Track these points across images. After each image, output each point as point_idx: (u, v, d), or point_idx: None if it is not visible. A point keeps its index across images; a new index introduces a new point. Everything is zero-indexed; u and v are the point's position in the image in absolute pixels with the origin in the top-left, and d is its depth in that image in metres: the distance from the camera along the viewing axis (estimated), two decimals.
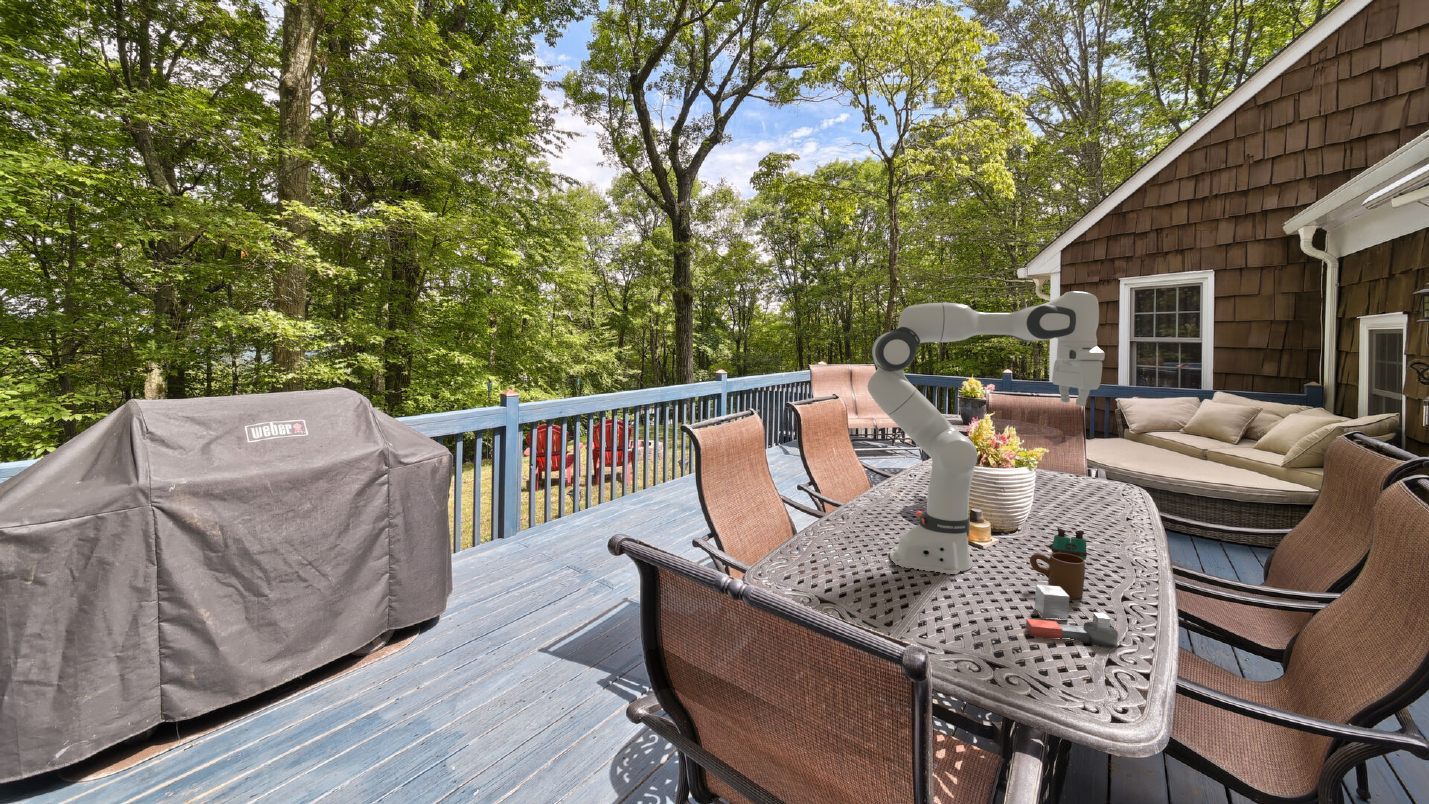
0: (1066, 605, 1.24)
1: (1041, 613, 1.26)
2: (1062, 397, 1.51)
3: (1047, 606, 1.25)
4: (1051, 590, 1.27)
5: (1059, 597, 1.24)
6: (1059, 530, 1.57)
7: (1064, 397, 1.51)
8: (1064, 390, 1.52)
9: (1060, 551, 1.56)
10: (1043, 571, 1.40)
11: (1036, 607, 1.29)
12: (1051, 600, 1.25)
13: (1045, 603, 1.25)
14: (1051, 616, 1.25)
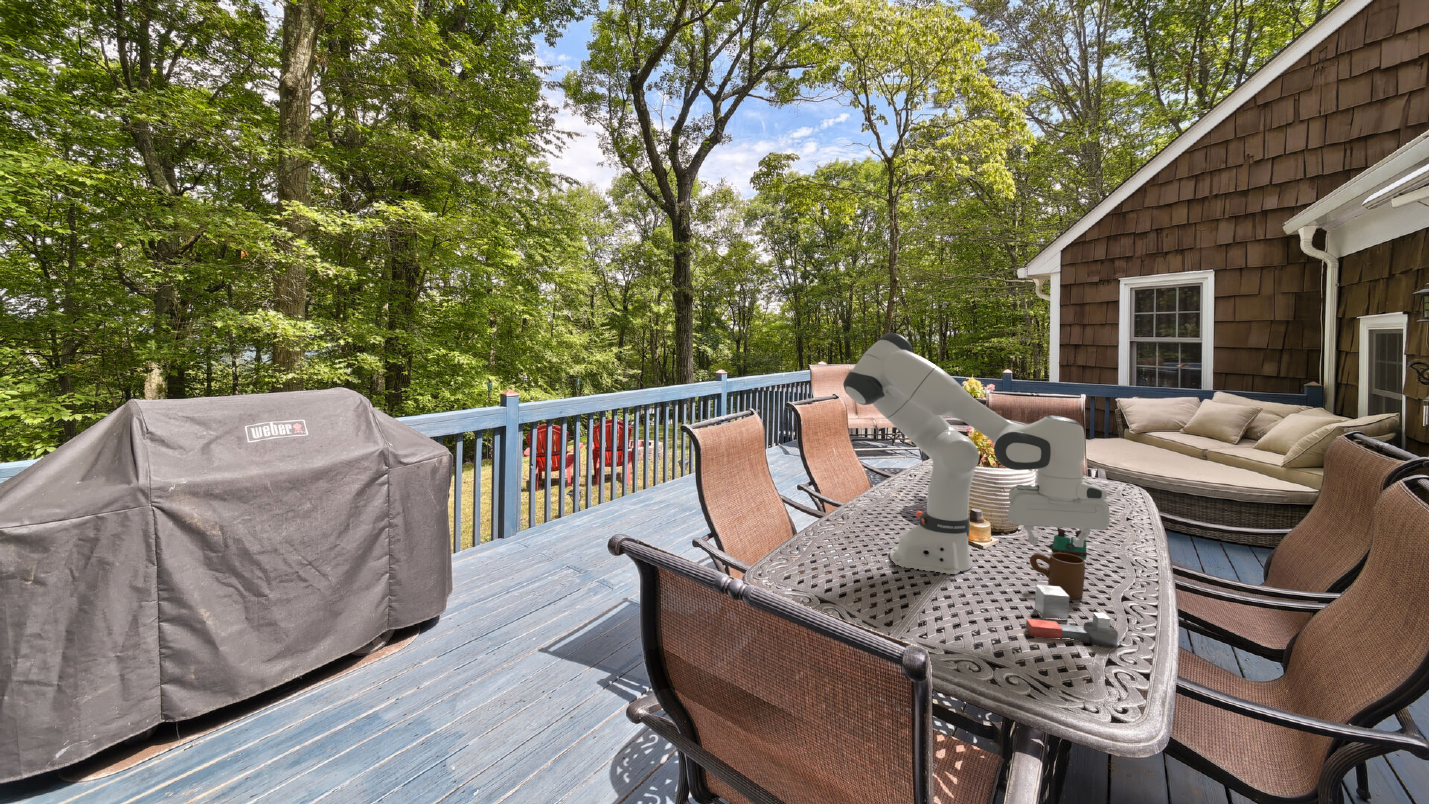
0: (1066, 605, 1.24)
1: (1041, 613, 1.26)
2: (1036, 539, 1.26)
3: (1047, 606, 1.25)
4: (1051, 590, 1.27)
5: (1059, 597, 1.24)
6: (1059, 530, 1.57)
7: None
8: None
9: (1060, 551, 1.56)
10: (1043, 571, 1.40)
11: (1036, 607, 1.29)
12: (1051, 600, 1.25)
13: (1045, 603, 1.25)
14: (1051, 616, 1.25)
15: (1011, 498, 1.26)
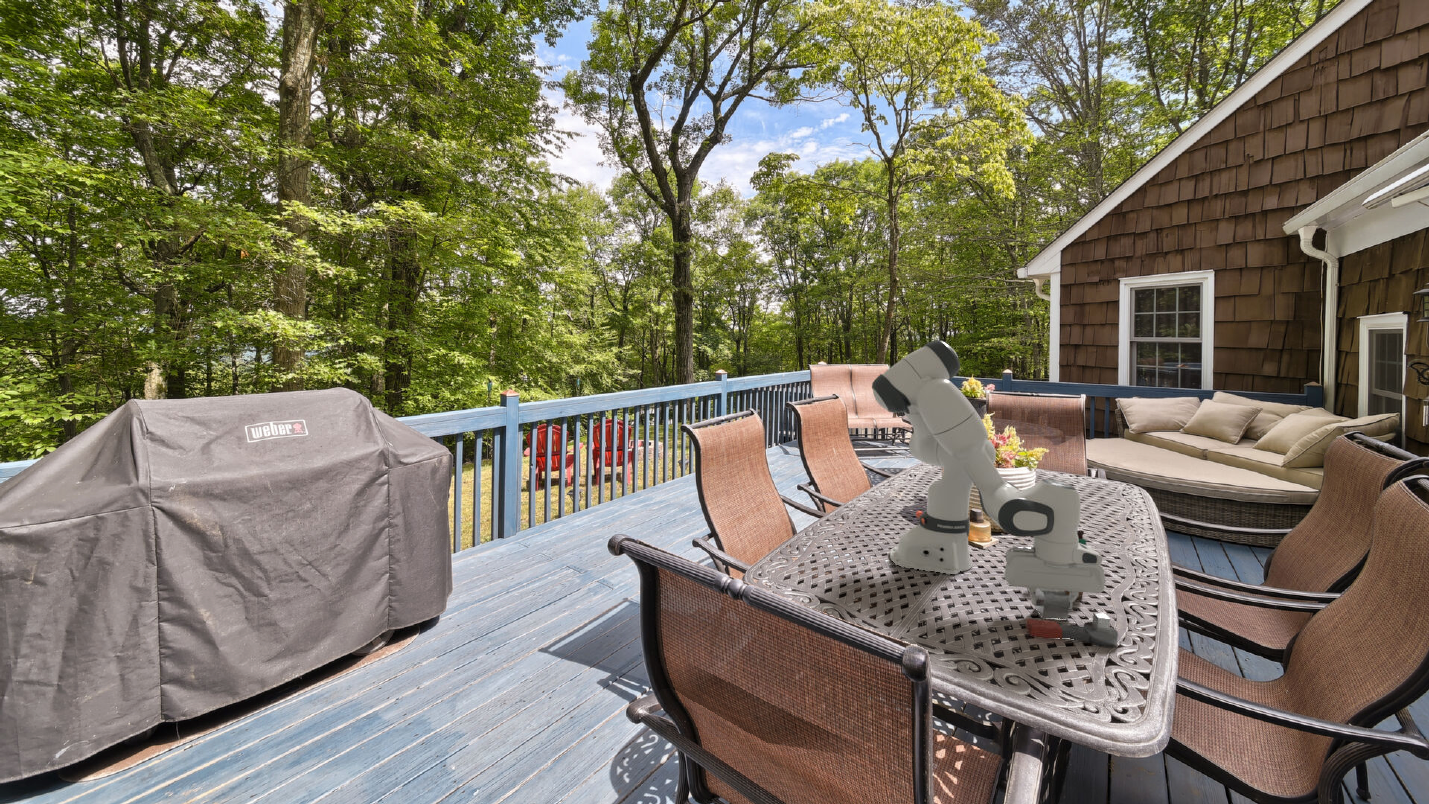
0: (1066, 605, 1.24)
1: (1041, 613, 1.26)
2: (1038, 601, 1.27)
3: (1047, 606, 1.25)
4: (1051, 590, 1.27)
5: (1059, 597, 1.24)
6: None
7: None
8: None
9: None
10: None
11: (1036, 607, 1.29)
12: (1051, 600, 1.25)
13: (1045, 603, 1.25)
14: (1051, 616, 1.25)
15: (1008, 560, 1.28)
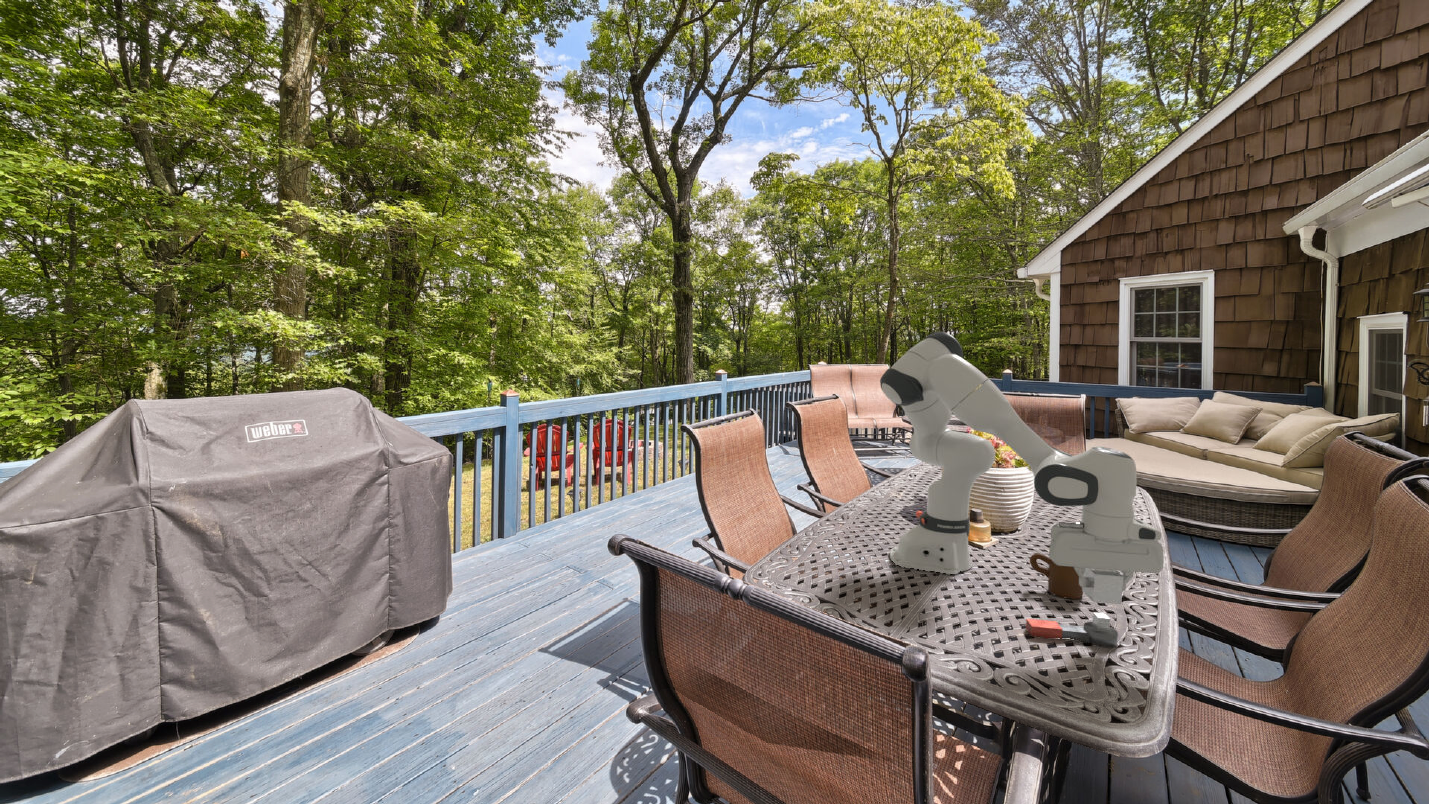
0: (1120, 586, 1.12)
1: (1091, 595, 1.14)
2: (1087, 582, 1.15)
3: (1098, 587, 1.13)
4: (1102, 570, 1.15)
5: (1112, 577, 1.12)
6: None
7: None
8: None
9: None
10: (1043, 571, 1.40)
11: (1084, 589, 1.17)
12: (1102, 581, 1.13)
13: (1096, 584, 1.13)
14: (1102, 599, 1.13)
15: (1053, 536, 1.16)
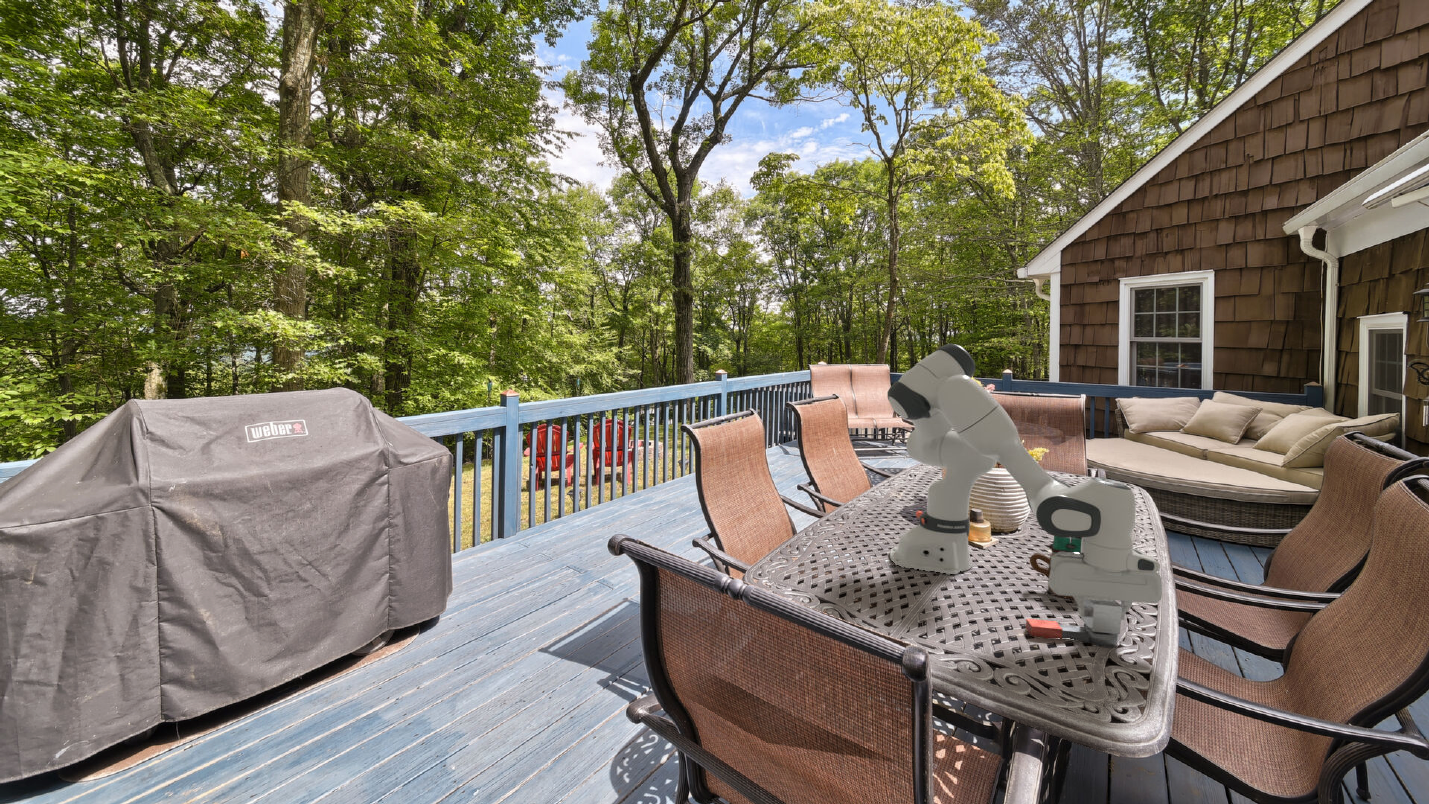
0: (1118, 616, 1.13)
1: (1090, 625, 1.15)
2: (1087, 611, 1.16)
3: (1097, 617, 1.14)
4: (1101, 600, 1.16)
5: (1111, 607, 1.13)
6: None
7: None
8: None
9: (1060, 551, 1.56)
10: (1043, 571, 1.40)
11: (1083, 618, 1.18)
12: (1102, 611, 1.13)
13: (1095, 614, 1.14)
14: (1101, 628, 1.14)
15: (1053, 566, 1.17)
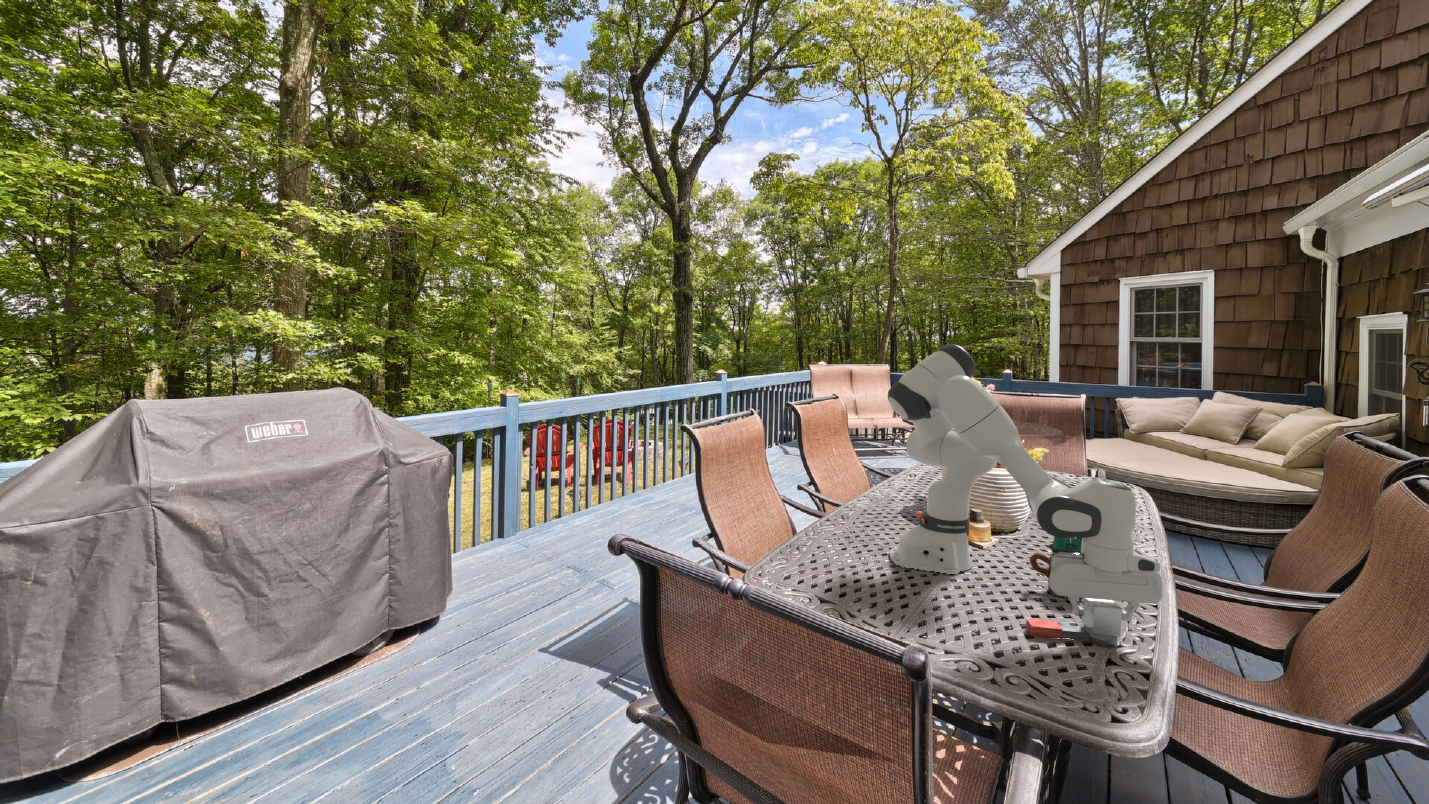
0: (1119, 619, 1.13)
1: (1090, 627, 1.15)
2: (1081, 611, 1.16)
3: (1097, 620, 1.14)
4: (1101, 602, 1.16)
5: (1111, 610, 1.13)
6: None
7: None
8: None
9: (1060, 551, 1.56)
10: (1043, 571, 1.40)
11: (1083, 620, 1.18)
12: (1102, 613, 1.14)
13: (1095, 616, 1.14)
14: (1102, 631, 1.14)
15: (1053, 566, 1.17)
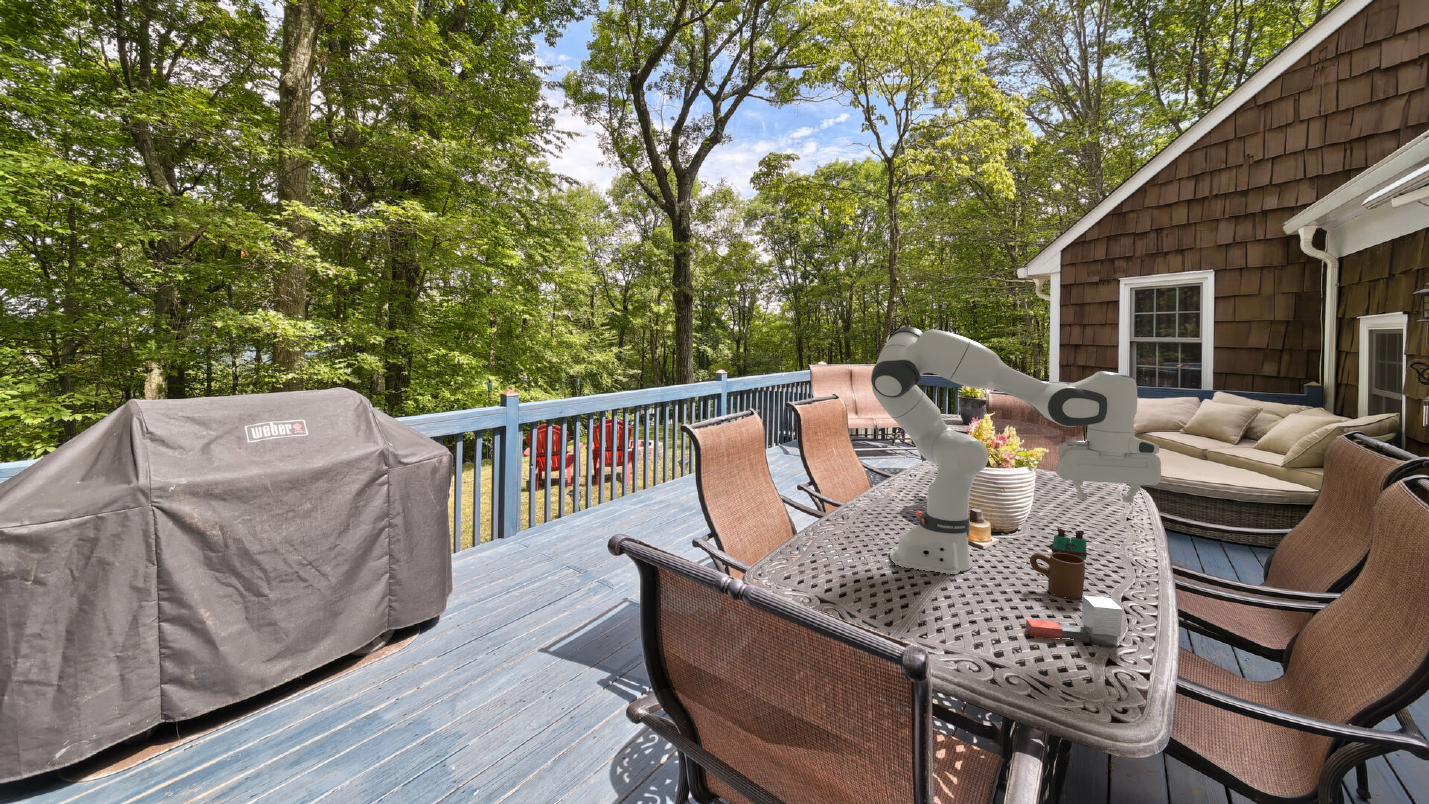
0: (1119, 619, 1.13)
1: (1090, 627, 1.15)
2: (1085, 494, 1.26)
3: (1097, 620, 1.14)
4: (1101, 602, 1.16)
5: (1111, 610, 1.13)
6: (1059, 530, 1.57)
7: None
8: None
9: (1060, 551, 1.56)
10: (1043, 571, 1.40)
11: (1083, 620, 1.18)
12: (1102, 613, 1.14)
13: (1095, 616, 1.14)
14: (1102, 631, 1.14)
15: (1061, 454, 1.27)
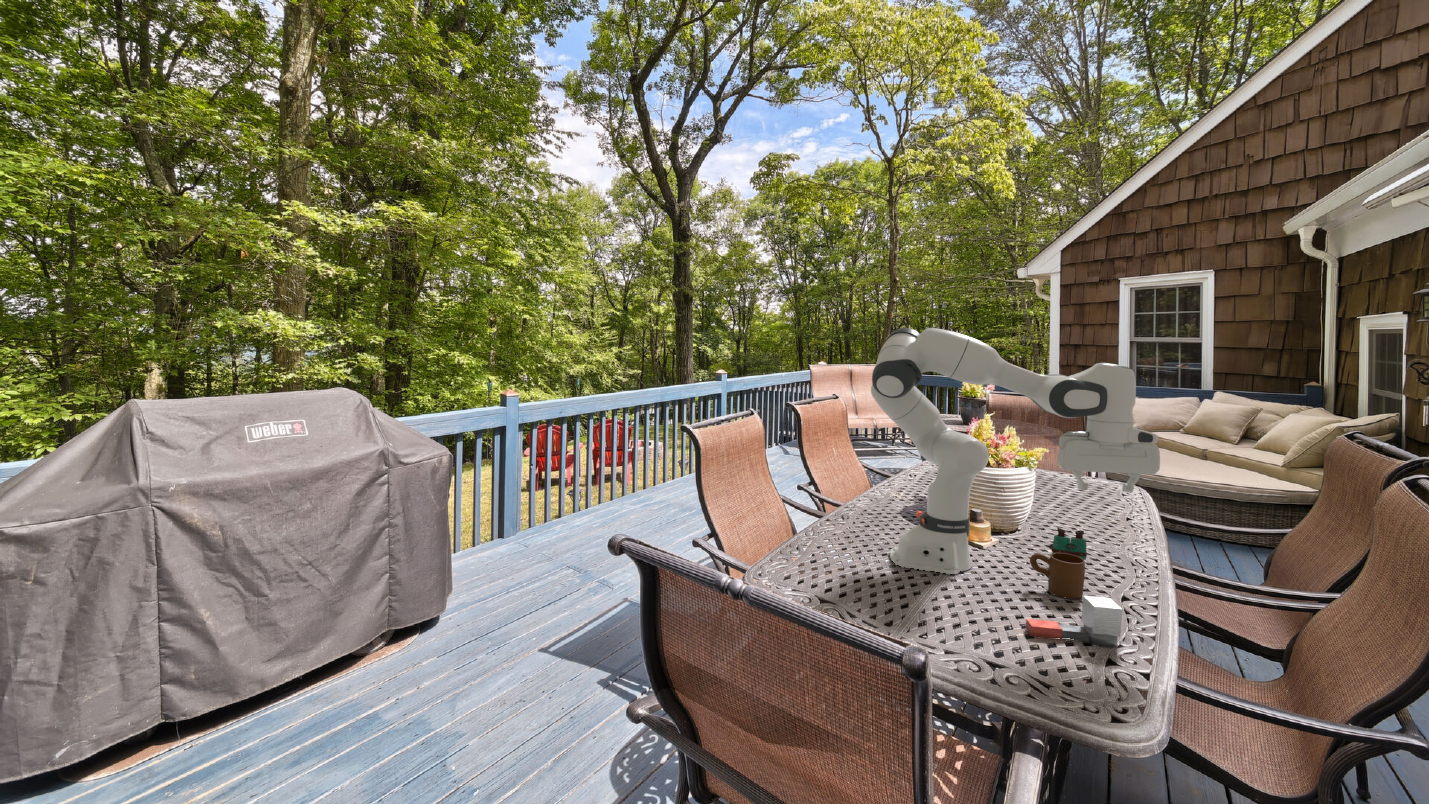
0: (1119, 619, 1.13)
1: (1090, 627, 1.15)
2: (1085, 484, 1.28)
3: (1097, 620, 1.14)
4: (1101, 602, 1.16)
5: (1111, 610, 1.13)
6: (1059, 530, 1.57)
7: None
8: None
9: (1060, 551, 1.56)
10: (1043, 571, 1.40)
11: (1083, 620, 1.18)
12: (1102, 613, 1.14)
13: (1095, 616, 1.14)
14: (1102, 631, 1.14)
15: (1061, 445, 1.29)
